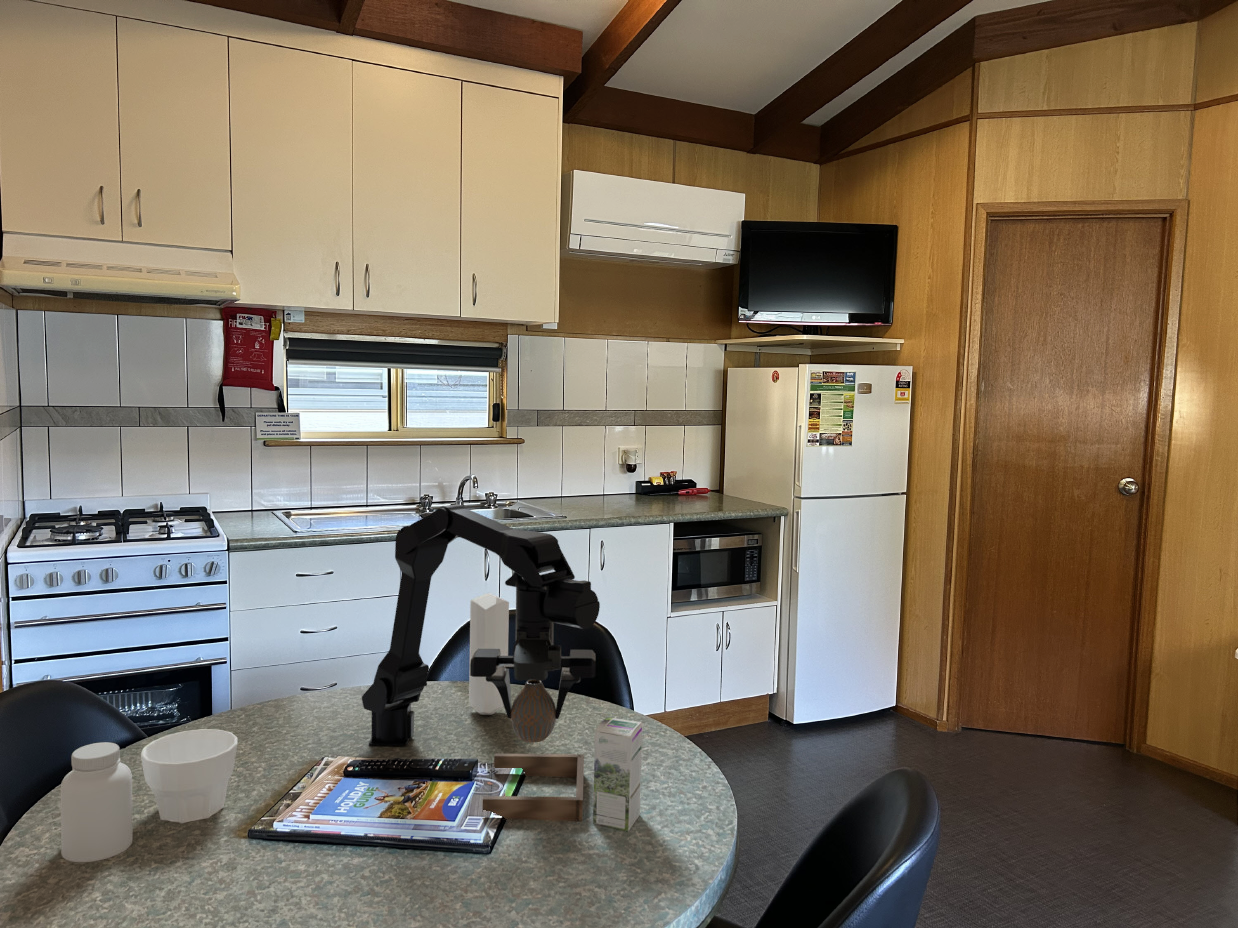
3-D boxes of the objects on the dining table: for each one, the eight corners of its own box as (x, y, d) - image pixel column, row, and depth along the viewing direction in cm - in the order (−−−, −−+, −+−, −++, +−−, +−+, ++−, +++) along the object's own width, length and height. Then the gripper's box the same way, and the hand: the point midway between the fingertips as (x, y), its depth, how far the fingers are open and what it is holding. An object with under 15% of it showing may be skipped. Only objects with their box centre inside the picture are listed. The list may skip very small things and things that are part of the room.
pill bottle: (82, 885, 107) (79, 767, 106) (49, 865, 111) (46, 752, 110) (145, 857, 114) (143, 746, 113) (112, 839, 118) (110, 732, 117)
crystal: (463, 722, 163) (465, 597, 161) (469, 709, 170) (471, 588, 168) (503, 723, 163) (505, 598, 161) (507, 709, 170) (509, 589, 168)
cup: (183, 795, 131) (182, 724, 130) (256, 805, 129) (256, 733, 128) (120, 835, 119) (119, 758, 118) (200, 847, 116) (199, 768, 116)
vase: (553, 747, 129) (554, 689, 128) (507, 745, 129) (508, 688, 128) (557, 729, 136) (558, 675, 135) (514, 728, 136) (514, 673, 135)
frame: (482, 822, 125) (482, 798, 125) (494, 774, 141) (494, 753, 141) (582, 823, 126) (582, 800, 125) (583, 775, 142) (583, 754, 141)
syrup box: (641, 814, 129) (643, 720, 128) (628, 833, 123) (631, 734, 122) (605, 807, 131) (607, 714, 129) (591, 825, 125) (593, 728, 124)
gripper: (464, 631, 123) (464, 737, 124) (596, 632, 123) (594, 738, 124) (475, 611, 134) (475, 710, 135) (596, 613, 134) (594, 711, 136)
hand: (533, 717), depth 132 cm, fingers closed on vase, 7 cm apart
